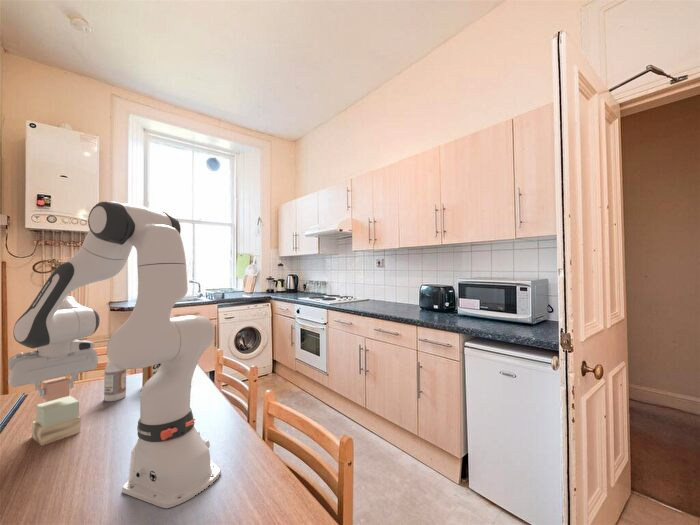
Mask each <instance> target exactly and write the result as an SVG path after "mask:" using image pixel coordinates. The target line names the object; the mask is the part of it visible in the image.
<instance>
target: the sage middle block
mask: <svg viewBox="0 0 700 525" xmlns="http://www.w3.org/2000/svg"><path fill="white" fill-rule="evenodd" d="M35 412H36V415H35V417H36V418H35V421H37V422H38V423H39V424H40V425H41V426H42V427H43V428H46V427H49V426H52V425H56V424H59V423H62V422H65V421H68V420H71V419H74V418H78V417H79V415H80V401H79V400H77V399H76V398H75V397H73V396H72V395H69V396H66V397H62V398H59V399H55V400H51V401H48V402H47V401H46V402H42V403H38V404H36V411H35Z"/></svg>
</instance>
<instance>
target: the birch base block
mask: <svg viewBox="0 0 700 525" xmlns="http://www.w3.org/2000/svg"><path fill="white" fill-rule="evenodd" d="M79 433H81V416H79V417H78V418H74V419H71V420H68V421H65V422H62V423H59V424H56V425H52V426H49V427H46V428H43V427H42V426H41V425H40V424H39V423H38V422H37V421H36V420H34V421H32V422H31V438H32V437H33V438H34V439H35V440H36V441H37V442H38V443H39V444H40V445H41V446H40V445H39V444H38V443H37V442H36V441H35V440H34V439H33V438H32V439H33V440H34V441H35V442H36V443H37V444H38V445H39V446H40V447H42V445H43V446H45V445H44V444H46V445H48V444H50V442H51V443H54V442H56V441H55V440H57V441H60V440H62V439H61V438H63V439H65V438H67V437H71V436H74V435H76V434H79ZM64 437H65V438H64ZM59 439H60V440H59ZM53 441H54V442H53ZM47 443H48V444H47Z"/></svg>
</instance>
